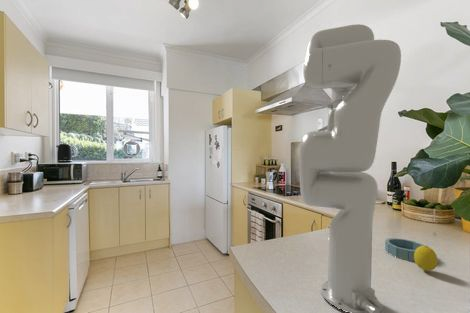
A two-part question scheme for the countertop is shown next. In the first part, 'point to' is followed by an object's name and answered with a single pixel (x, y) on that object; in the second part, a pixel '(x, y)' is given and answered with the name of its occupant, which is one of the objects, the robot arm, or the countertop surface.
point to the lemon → (425, 258)
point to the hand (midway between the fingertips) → (341, 151)
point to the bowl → (402, 248)
